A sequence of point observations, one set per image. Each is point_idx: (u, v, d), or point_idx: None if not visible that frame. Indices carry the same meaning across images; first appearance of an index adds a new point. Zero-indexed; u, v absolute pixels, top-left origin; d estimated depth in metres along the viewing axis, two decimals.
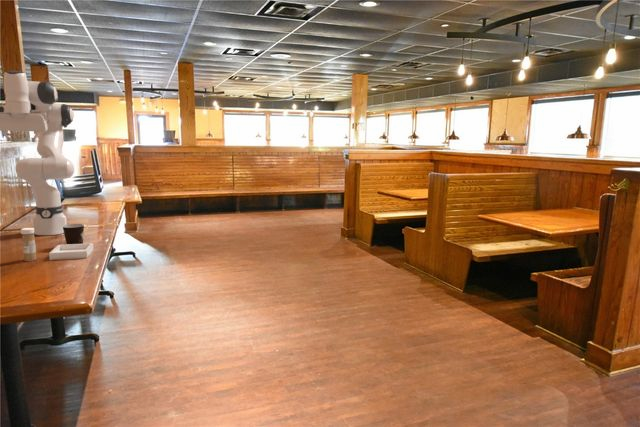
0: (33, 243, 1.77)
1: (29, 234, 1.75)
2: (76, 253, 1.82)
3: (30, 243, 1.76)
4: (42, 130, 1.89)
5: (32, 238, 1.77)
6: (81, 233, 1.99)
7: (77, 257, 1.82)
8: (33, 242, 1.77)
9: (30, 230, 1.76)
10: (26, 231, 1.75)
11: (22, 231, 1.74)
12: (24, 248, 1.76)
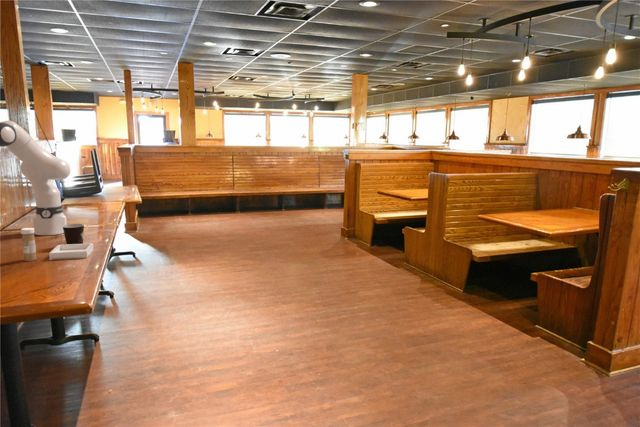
0: (33, 243, 1.77)
1: (29, 234, 1.75)
2: (76, 253, 1.82)
3: (30, 243, 1.76)
4: None
5: (32, 238, 1.77)
6: (81, 233, 1.99)
7: (77, 257, 1.82)
8: (33, 242, 1.77)
9: (30, 230, 1.76)
10: (26, 231, 1.75)
11: (22, 231, 1.74)
12: (24, 248, 1.76)
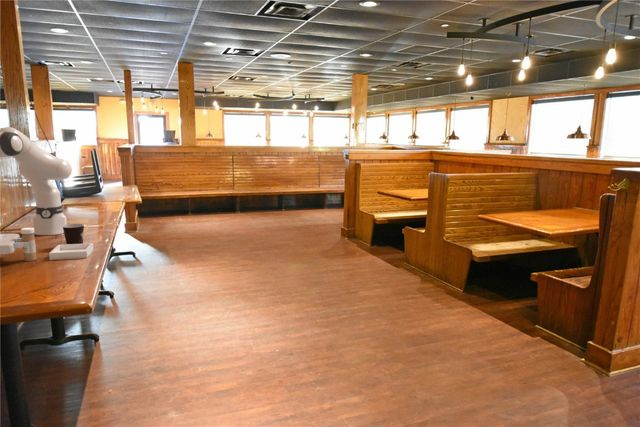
0: (33, 243, 1.77)
1: (29, 234, 1.75)
2: (76, 253, 1.82)
3: (30, 243, 1.76)
4: (11, 252, 1.68)
5: (32, 238, 1.77)
6: (81, 233, 1.99)
7: (77, 257, 1.82)
8: (33, 242, 1.77)
9: (30, 230, 1.76)
10: (26, 231, 1.75)
11: (22, 231, 1.75)
12: (24, 248, 1.76)
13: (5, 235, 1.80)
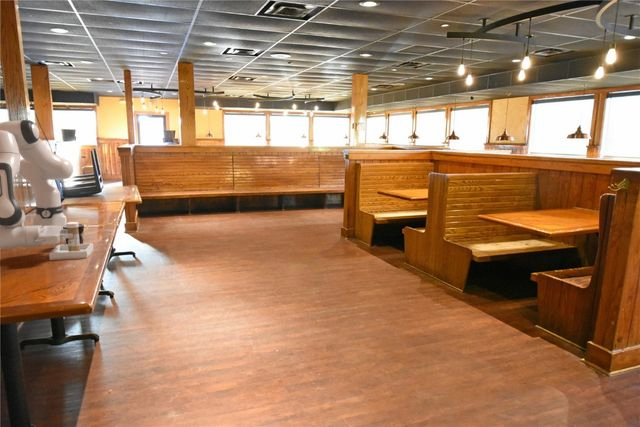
0: (77, 236, 1.87)
1: (74, 228, 1.85)
2: (76, 253, 1.82)
3: (75, 237, 1.85)
4: (58, 242, 1.77)
5: (77, 232, 1.86)
6: (81, 233, 1.99)
7: (77, 257, 1.82)
8: (77, 235, 1.87)
9: (76, 224, 1.85)
10: (72, 225, 1.84)
11: (68, 225, 1.84)
12: (69, 241, 1.85)
13: (49, 227, 1.89)
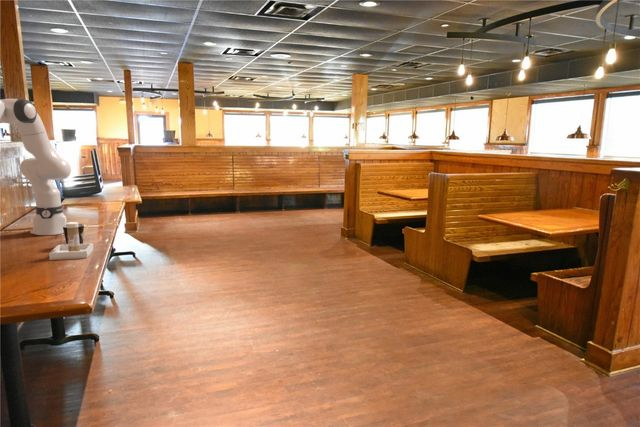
0: (77, 236, 1.87)
1: (74, 228, 1.85)
2: (76, 253, 1.82)
3: (75, 237, 1.85)
4: None
5: (77, 232, 1.86)
6: (81, 233, 1.99)
7: (77, 257, 1.82)
8: (77, 236, 1.87)
9: (75, 224, 1.85)
10: (71, 225, 1.84)
11: (68, 225, 1.84)
12: (69, 241, 1.85)
13: None
